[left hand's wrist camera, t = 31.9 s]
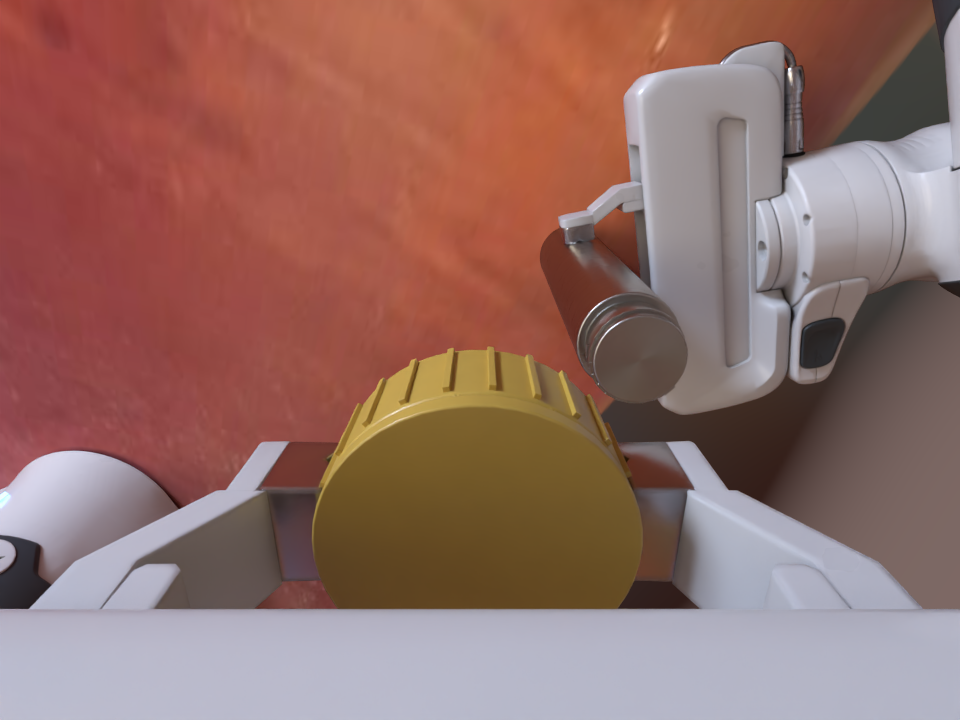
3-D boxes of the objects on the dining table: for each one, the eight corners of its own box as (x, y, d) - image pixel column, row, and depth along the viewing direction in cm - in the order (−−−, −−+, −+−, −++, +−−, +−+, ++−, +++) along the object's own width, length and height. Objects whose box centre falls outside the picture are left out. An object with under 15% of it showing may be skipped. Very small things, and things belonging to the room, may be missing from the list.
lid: (485, 617, 12) (486, 717, 10) (286, 479, 10) (239, 561, 8) (671, 464, 10) (719, 544, 8) (467, 283, 9) (464, 325, 7)
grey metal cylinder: (527, 255, 38) (561, 360, 21) (573, 211, 37) (650, 283, 19) (567, 297, 39) (632, 430, 22) (613, 256, 38) (720, 361, 21)
